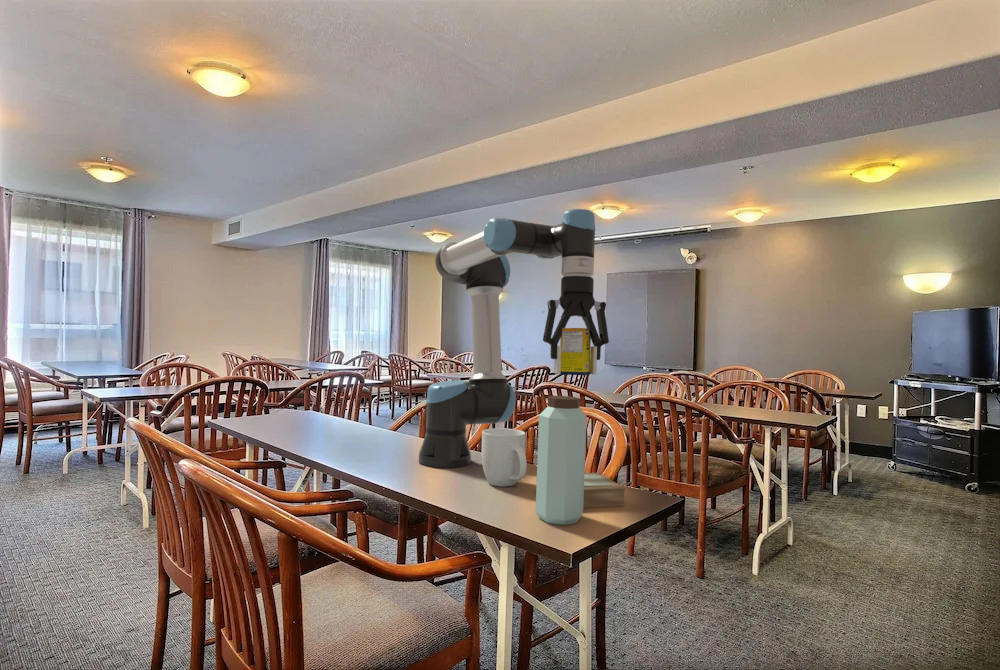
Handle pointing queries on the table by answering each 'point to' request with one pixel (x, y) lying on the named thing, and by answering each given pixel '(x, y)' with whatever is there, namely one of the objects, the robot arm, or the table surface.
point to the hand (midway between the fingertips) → (575, 373)
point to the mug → (503, 456)
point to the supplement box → (575, 351)
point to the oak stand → (601, 491)
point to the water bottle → (561, 461)
